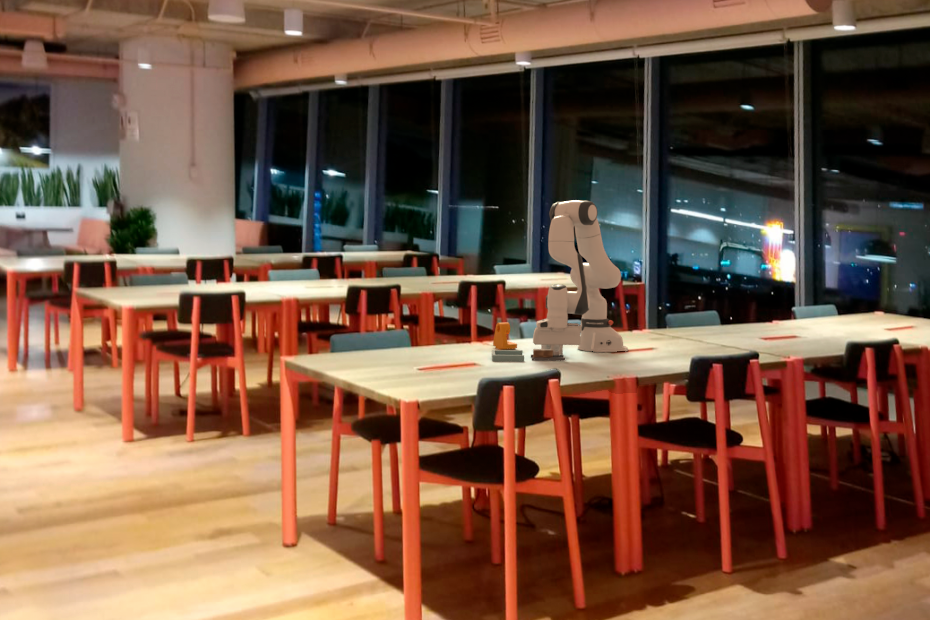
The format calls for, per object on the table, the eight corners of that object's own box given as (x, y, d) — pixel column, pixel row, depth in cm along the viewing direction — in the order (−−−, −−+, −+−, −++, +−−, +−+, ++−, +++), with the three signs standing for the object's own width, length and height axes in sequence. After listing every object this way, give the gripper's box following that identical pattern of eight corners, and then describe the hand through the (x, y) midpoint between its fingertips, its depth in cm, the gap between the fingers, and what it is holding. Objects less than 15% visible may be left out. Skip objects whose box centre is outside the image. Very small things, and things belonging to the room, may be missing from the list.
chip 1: (542, 358, 437) (542, 348, 437) (543, 359, 433) (543, 350, 433) (533, 358, 437) (533, 348, 437) (533, 359, 433) (533, 350, 433)
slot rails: (563, 357, 439) (563, 354, 439) (565, 360, 431) (565, 357, 431) (530, 357, 439) (530, 354, 439) (532, 360, 431) (532, 357, 431)
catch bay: (522, 356, 442) (522, 350, 442) (524, 361, 428) (524, 355, 428) (491, 355, 442) (491, 350, 442) (492, 361, 428) (492, 355, 428)
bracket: (517, 350, 461) (518, 323, 459) (503, 350, 458) (503, 324, 456) (507, 346, 470) (507, 320, 469) (493, 347, 467) (493, 321, 466)
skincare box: (540, 351, 456) (540, 328, 455) (553, 351, 458) (554, 327, 457) (549, 355, 446) (549, 331, 445) (563, 354, 448) (563, 330, 447)
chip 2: (551, 358, 437) (552, 349, 437) (552, 359, 433) (552, 350, 433) (542, 358, 437) (542, 348, 437) (543, 359, 433) (543, 350, 433)
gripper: (580, 322, 437) (580, 354, 438) (532, 321, 436) (532, 353, 438) (582, 324, 430) (581, 356, 432) (534, 323, 430) (533, 356, 432)
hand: (556, 355), depth 435 cm, fingers closed
